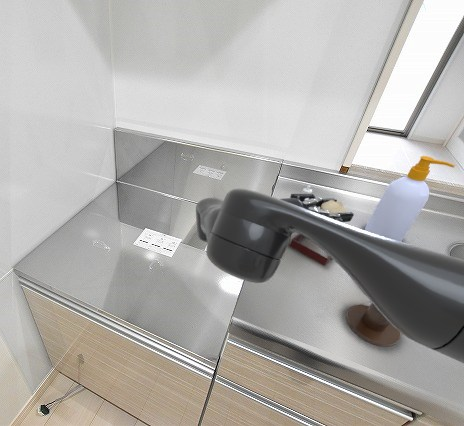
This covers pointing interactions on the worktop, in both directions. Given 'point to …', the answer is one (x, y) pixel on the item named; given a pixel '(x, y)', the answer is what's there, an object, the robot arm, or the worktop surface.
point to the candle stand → (372, 325)
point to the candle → (333, 207)
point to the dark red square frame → (308, 251)
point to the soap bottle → (402, 202)
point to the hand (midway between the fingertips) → (342, 209)
